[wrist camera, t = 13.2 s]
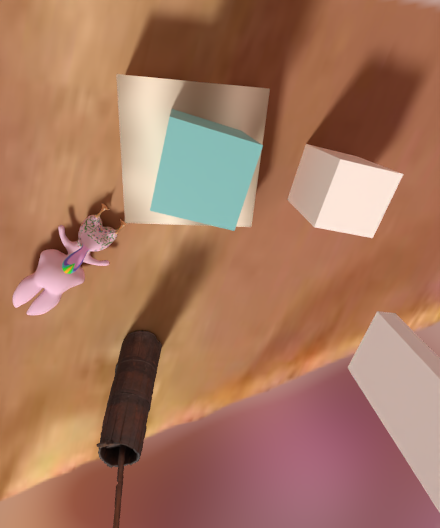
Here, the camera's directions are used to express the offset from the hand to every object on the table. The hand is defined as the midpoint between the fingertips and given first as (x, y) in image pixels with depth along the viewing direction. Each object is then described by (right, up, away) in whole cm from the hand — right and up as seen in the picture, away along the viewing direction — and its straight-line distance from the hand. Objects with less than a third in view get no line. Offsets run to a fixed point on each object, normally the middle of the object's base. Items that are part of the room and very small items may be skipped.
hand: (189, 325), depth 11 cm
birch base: (-2, +13, +22) cm, 26 cm away
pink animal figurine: (-15, +3, +26) cm, 30 cm away
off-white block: (+12, +11, +25) cm, 30 cm away
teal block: (-1, +11, +18) cm, 21 cm away
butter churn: (-10, -8, +32) cm, 35 cm away
